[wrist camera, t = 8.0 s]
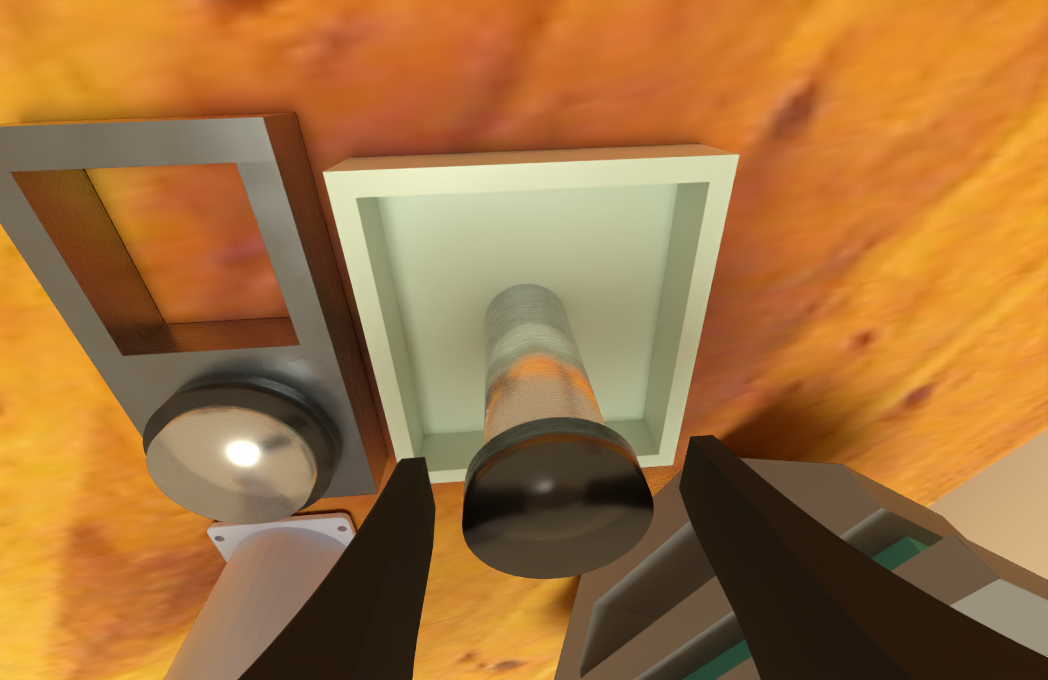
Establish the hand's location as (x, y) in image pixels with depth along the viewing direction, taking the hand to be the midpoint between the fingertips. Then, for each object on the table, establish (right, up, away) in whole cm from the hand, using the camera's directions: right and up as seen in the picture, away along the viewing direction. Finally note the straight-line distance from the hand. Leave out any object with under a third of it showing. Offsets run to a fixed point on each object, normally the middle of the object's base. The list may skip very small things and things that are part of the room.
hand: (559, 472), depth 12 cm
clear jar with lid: (-1, +4, +7) cm, 9 cm away
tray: (-1, +5, +8) cm, 9 cm away
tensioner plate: (-13, +4, +7) cm, 15 cm away
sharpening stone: (+10, -9, +17) cm, 22 cm away
